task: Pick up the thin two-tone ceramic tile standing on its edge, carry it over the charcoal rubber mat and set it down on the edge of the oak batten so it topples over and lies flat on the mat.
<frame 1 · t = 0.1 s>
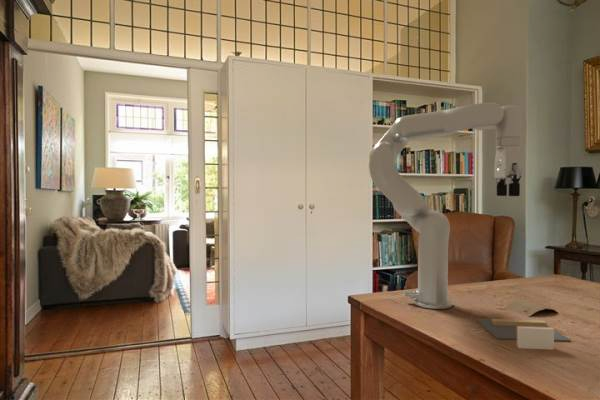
hand: (507, 195, 135), 37 cm above the table, tool pointing down, fingers open, 9 cm apart
clay tablet: (531, 312, 131), on the table
mat: (519, 329, 112), on the table
tile: (534, 347, 99), on the table
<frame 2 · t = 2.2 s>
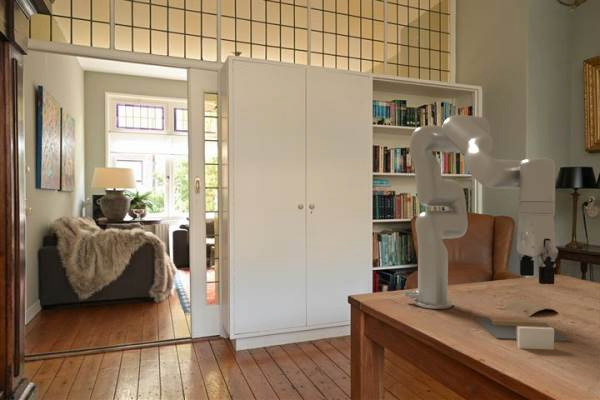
hand: (536, 279, 99), 17 cm above the table, tool pointing down, fingers open, 9 cm apart
nothing on the table moved.
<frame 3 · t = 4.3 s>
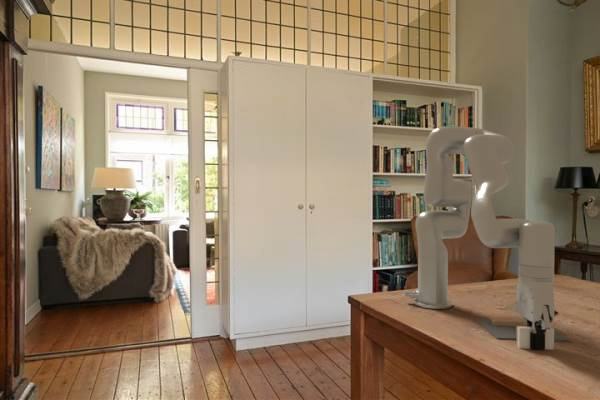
hand: (534, 346, 99), 0 cm above the table, tool pointing down, fingers closed
tile: (534, 347, 99), on the table, touching gripper
everything else where it was.
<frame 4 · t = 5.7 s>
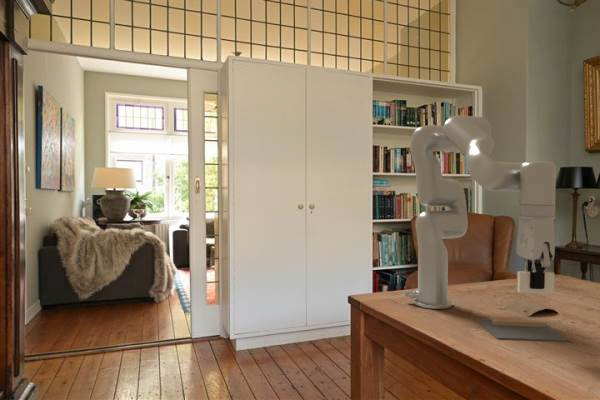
hand: (535, 287, 99), 15 cm above the table, tool pointing down, fingers closed on tile, 1 cm apart
tile: (535, 292, 99), point 13 cm above the table, touching gripper
everything else where it was.
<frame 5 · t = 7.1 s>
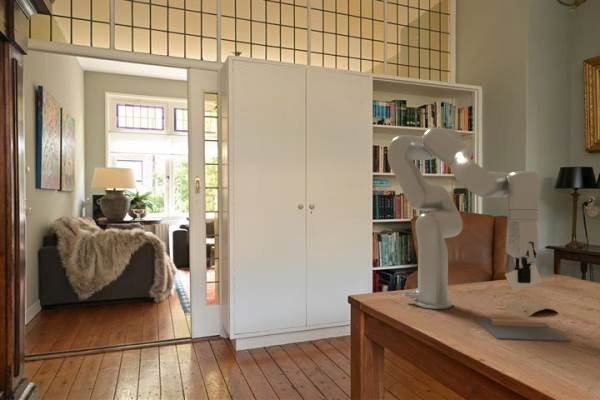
hand: (522, 281, 113), 13 cm above the table, tool pointing down, fingers closed on tile, 1 cm apart
tile: (526, 286, 113), point 12 cm above the table, tilted 21°, touching gripper
everything else where it was.
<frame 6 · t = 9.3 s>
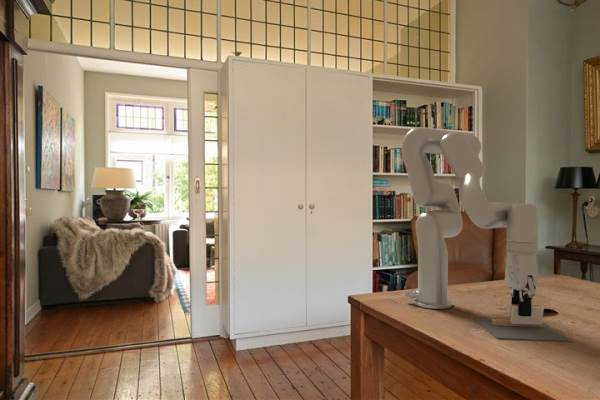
hand: (521, 312, 114), 4 cm above the table, tool pointing down, fingers open, 3 cm apart
tile: (525, 322, 114), point 2 cm above the table, tilted 12°, touching gripper, mat
everything else where it was.
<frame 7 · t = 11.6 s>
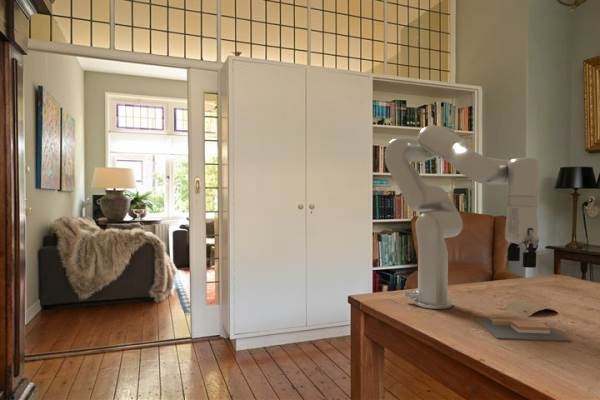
hand: (521, 263, 114), 18 cm above the table, tool pointing down, fingers open, 9 cm apart
tile: (525, 324, 113), point 1 cm above the table, tilted 90°, touching mat
everything else where it was.
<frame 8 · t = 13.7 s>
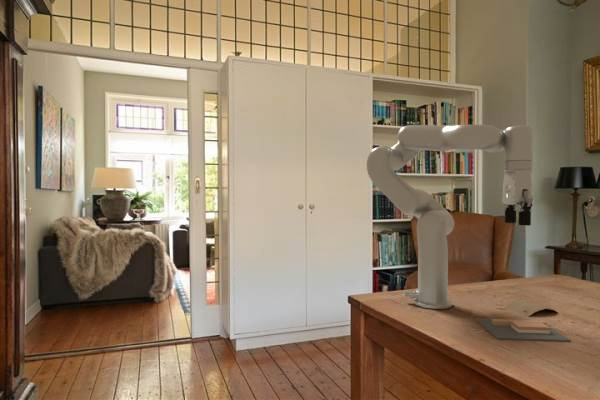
hand: (517, 224, 123), 28 cm above the table, tool pointing down, fingers open, 9 cm apart
nothing on the table moved.
at the end: tile tilted 90°; tile inside the target area on the mat (2.7 cm from its centre), point 1.2 cm above the mat's base; the gripper is holding nothing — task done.
